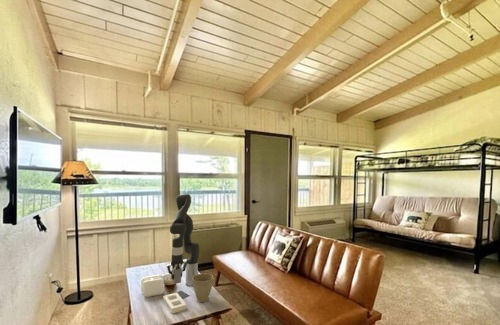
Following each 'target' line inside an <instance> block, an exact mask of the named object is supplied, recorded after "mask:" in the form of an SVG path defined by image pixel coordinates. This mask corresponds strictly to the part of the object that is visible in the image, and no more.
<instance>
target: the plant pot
mask: <svg viewBox="0 0 500 325" xmlns="http://www.w3.org/2000/svg"><path fill="white" fill-rule="evenodd" d="M192 279H193V286H192V287H193V291H194V295H195V298H196V299H197V300H196V301H197V302H199V303H205V302H208V300H209V296H210V294H211V291H212V287H213V282H214V275H213V274H211V273H207V272H206V273H205V272H204V273H203V272H202V273H198V274H197V275H195V276H193V278H192Z"/></svg>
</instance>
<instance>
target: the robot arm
mask: <svg viewBox="0 0 500 325" xmlns="http://www.w3.org/2000/svg"><path fill="white" fill-rule="evenodd" d="M175 202H176V206H177V210H178V211H177V213H176V215H175V219H174V220H173V222H172V223H171V225H170V228H169V232H170V234H172V235H179V236H176V237H173V238H172V240H171V242H172V245H171V262H170V264H166V268H167V272H168V273H169V275H170V279H172V280H174V270H175V269H177V268H180V269H181V278H183V272H185V286H188V287H194V286H193V279H192V278H193V276H195V275H197V274H199V271H198V268H199V267H198V264H199V263H198V262H199V256H200V245H199V243H198V242H192V239H191V235H192V233H193V231H194V222H193V219H192V216H190V215H189V214H188V211H189V209H190V207H191V204H192V197H191V194H189V193H186V194H178V195H176V196H175ZM184 252H185V253H186V254H189V255H190V257H187V259H186V260H185V261H184ZM182 265H183V266H182ZM171 267H172V268H171ZM172 280H171V281H172Z"/></svg>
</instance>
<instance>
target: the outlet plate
mask: <svg viewBox="0 0 500 325" xmlns="http://www.w3.org/2000/svg"><path fill="white" fill-rule="evenodd" d="M162 300H163V303H164V304H165V306H166V308H167V309H168V311H169V313H170V314H174V313H175V314H176V313H178V312H182V311H186V310H187V306H188V305H187V303H186V302H185V301H184V298H183V299H182V298H181V297H180V296H179V294H178V293H176V292H173V293H171V294H165V295H163V296H162Z"/></svg>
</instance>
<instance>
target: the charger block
mask: <svg viewBox="0 0 500 325" xmlns="http://www.w3.org/2000/svg"><path fill="white" fill-rule="evenodd" d="M171 282H172V283H173V284H174V285H176V284H180V283H182V277H181V269H180V268H177V269H175V270H174V280H171Z"/></svg>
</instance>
